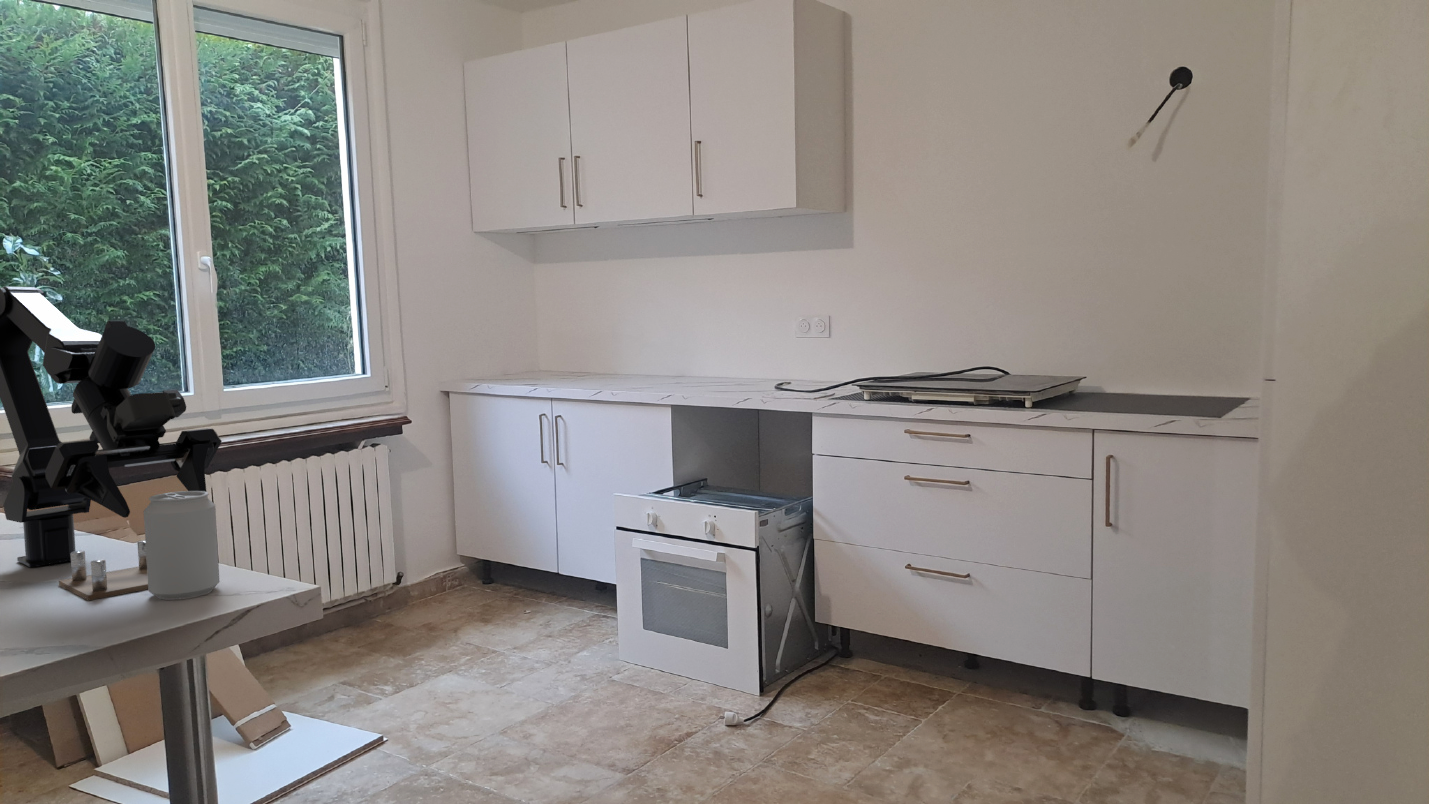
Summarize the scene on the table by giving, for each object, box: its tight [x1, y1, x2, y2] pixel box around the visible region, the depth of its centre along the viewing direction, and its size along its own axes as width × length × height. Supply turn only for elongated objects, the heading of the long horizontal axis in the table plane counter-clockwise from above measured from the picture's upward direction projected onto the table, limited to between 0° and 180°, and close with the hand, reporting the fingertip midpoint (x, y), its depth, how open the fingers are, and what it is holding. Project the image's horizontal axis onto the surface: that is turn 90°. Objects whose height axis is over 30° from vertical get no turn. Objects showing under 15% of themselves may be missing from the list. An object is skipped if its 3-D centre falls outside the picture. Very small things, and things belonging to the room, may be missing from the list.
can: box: [143, 490, 221, 601], centre depth 116 cm, size 8×8×12 cm
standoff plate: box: [58, 539, 148, 601], centre depth 121 cm, size 11×11×4 cm
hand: (167, 508), depth 117 cm, fingers open, 9 cm apart
